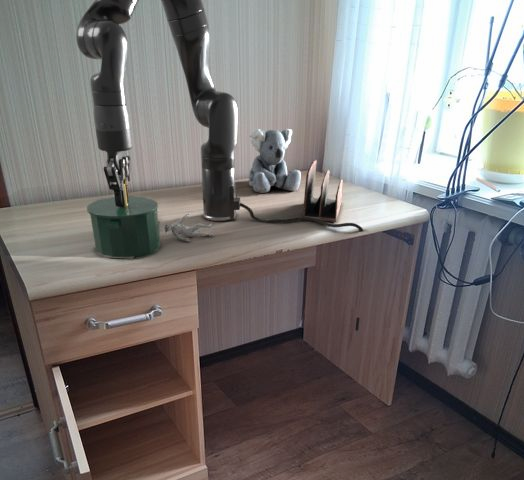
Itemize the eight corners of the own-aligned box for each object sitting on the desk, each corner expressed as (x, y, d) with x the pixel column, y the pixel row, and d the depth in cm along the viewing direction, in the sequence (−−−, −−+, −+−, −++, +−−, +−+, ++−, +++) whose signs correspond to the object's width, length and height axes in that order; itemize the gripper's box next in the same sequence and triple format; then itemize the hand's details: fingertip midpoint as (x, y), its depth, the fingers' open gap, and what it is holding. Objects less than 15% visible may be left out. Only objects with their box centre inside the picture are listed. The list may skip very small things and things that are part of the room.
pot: (167, 234, 137) (164, 197, 131) (149, 264, 119) (145, 222, 114) (110, 232, 137) (104, 195, 132) (83, 262, 119) (76, 220, 114)
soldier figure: (212, 244, 134) (168, 235, 128) (205, 251, 138) (162, 243, 132) (212, 217, 136) (169, 207, 130) (205, 225, 140) (163, 216, 134)
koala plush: (256, 195, 171) (256, 132, 160) (238, 182, 185) (238, 124, 175) (302, 191, 176) (306, 130, 166) (282, 179, 190) (284, 122, 180)
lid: (164, 201, 130) (162, 176, 127) (149, 222, 116) (146, 194, 113) (100, 200, 130) (96, 175, 127) (77, 220, 116) (72, 192, 113)
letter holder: (302, 220, 149) (305, 170, 142) (310, 201, 166) (313, 156, 158) (336, 222, 147) (341, 172, 140) (341, 203, 164) (345, 158, 156)
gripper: (120, 132, 107) (130, 213, 116) (137, 122, 119) (145, 196, 128) (85, 131, 107) (98, 212, 116) (105, 121, 119) (115, 195, 128)
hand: (122, 203), depth 122 cm, fingers closed
